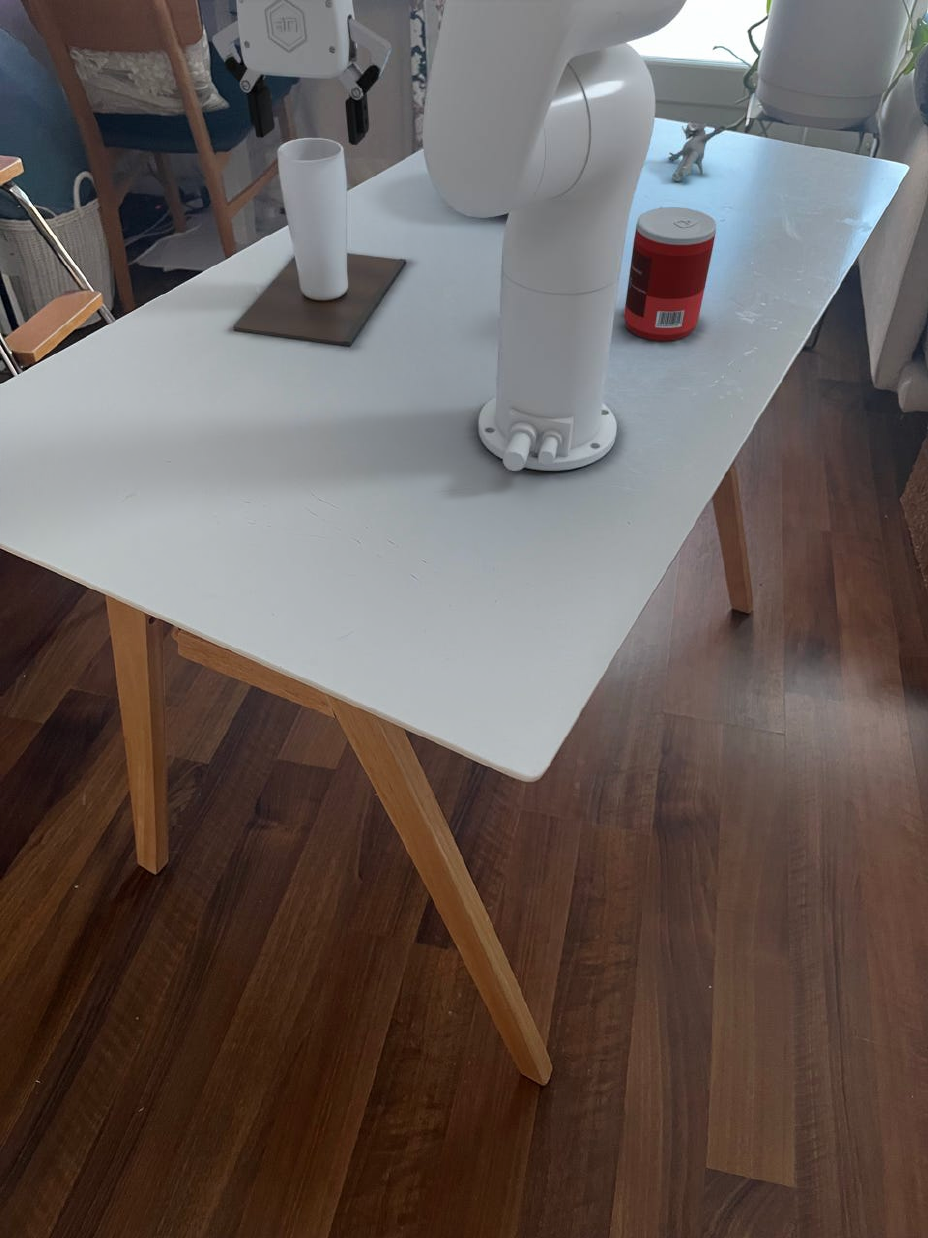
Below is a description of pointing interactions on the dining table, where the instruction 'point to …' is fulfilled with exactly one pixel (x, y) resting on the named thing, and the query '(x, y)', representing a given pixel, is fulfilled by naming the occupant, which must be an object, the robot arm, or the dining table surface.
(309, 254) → the drinking glass
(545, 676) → the dining table surface
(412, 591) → the dining table surface
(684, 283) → the canned food
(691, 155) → the grey creature figurine
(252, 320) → the desk mat
